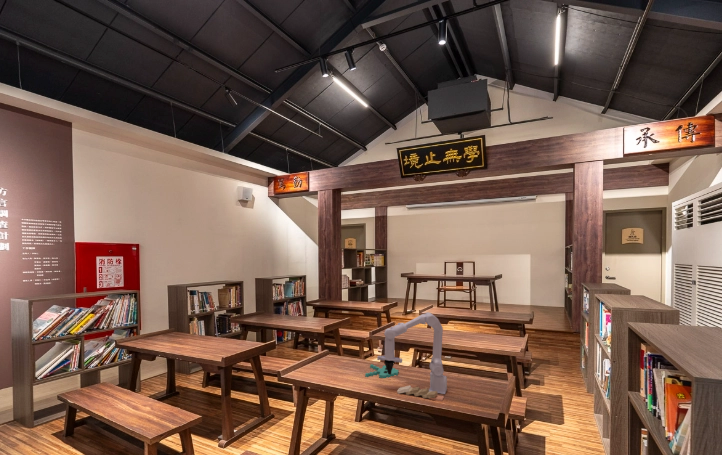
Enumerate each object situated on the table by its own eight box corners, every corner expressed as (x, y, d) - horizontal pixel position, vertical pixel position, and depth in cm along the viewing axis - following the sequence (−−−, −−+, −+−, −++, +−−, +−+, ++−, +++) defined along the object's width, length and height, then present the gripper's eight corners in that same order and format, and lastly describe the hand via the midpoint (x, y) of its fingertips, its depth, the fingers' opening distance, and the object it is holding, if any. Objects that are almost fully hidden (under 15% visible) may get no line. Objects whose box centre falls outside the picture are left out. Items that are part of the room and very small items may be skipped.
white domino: (400, 390, 206) (411, 388, 204) (397, 393, 201) (409, 391, 199) (399, 387, 206) (410, 385, 204) (397, 390, 202) (408, 388, 200)
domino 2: (417, 393, 202) (428, 390, 200) (414, 396, 198) (426, 394, 195) (416, 390, 203) (427, 387, 200) (413, 393, 198) (425, 391, 196)
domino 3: (425, 394, 200) (437, 394, 197) (422, 398, 196) (434, 397, 193) (425, 391, 200) (436, 391, 197) (422, 395, 196) (434, 394, 193)
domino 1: (408, 391, 204) (420, 389, 202) (406, 395, 200) (418, 392, 198) (407, 389, 205) (419, 386, 203) (405, 392, 200) (417, 389, 198)
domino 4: (431, 396, 199) (443, 399, 196) (429, 400, 195) (442, 402, 192) (431, 394, 199) (443, 396, 196) (429, 397, 195) (442, 399, 192)
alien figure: (365, 377, 228) (396, 380, 224) (365, 374, 228) (396, 376, 224) (370, 367, 248) (399, 369, 244) (370, 364, 248) (399, 366, 244)
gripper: (403, 349, 208) (403, 373, 208) (380, 346, 214) (380, 370, 213) (400, 352, 202) (400, 377, 201) (376, 349, 207) (376, 373, 207)
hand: (389, 373), depth 207 cm, fingers closed
